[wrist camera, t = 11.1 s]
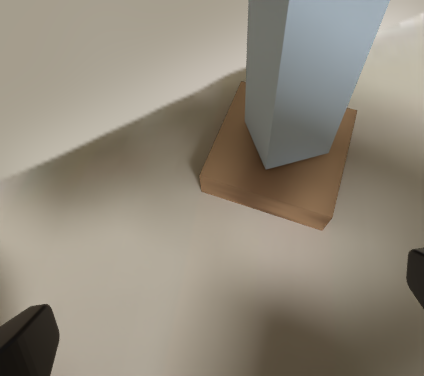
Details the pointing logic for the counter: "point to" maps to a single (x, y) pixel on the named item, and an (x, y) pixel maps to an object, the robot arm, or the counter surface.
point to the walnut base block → (275, 172)
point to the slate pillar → (304, 72)
